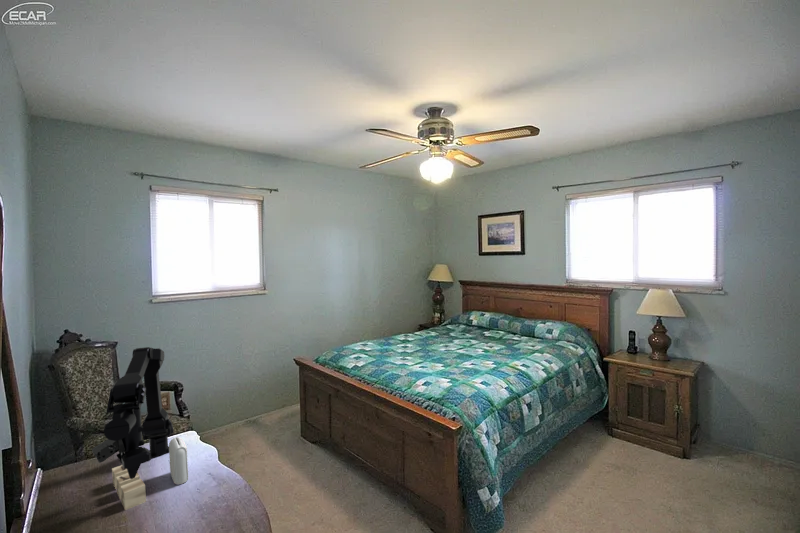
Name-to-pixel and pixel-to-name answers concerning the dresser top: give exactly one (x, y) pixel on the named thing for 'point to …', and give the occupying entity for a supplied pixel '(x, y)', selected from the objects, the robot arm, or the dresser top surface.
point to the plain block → (133, 494)
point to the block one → (118, 473)
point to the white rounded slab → (178, 460)
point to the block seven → (124, 481)
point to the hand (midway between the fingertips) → (132, 478)
